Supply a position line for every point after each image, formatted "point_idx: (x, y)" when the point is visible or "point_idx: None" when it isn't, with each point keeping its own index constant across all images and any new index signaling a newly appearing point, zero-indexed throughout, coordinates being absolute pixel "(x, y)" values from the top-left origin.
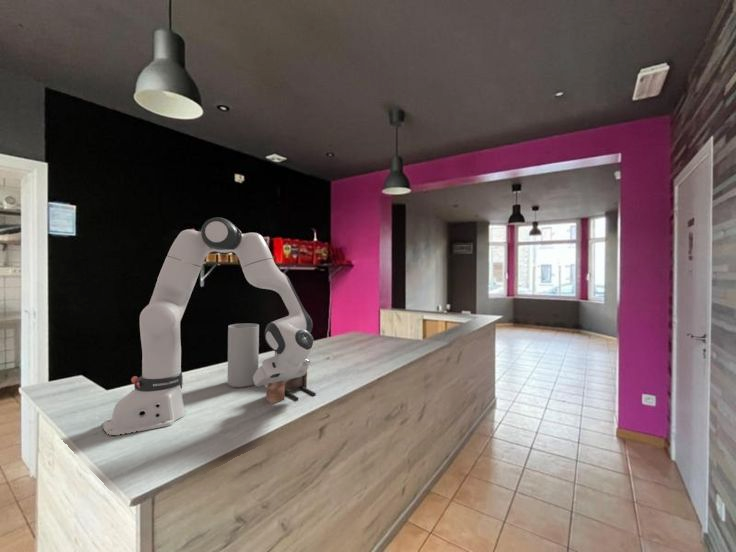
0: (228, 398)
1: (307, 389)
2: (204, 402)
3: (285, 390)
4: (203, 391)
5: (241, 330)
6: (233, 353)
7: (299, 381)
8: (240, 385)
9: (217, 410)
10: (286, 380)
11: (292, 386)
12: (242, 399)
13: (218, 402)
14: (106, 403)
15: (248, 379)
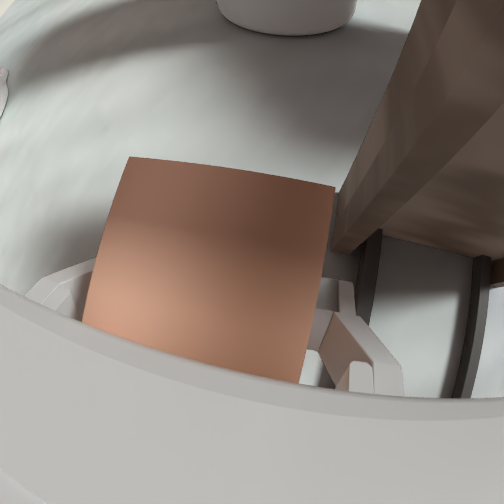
0: (113, 99)
1: (476, 349)
2: (54, 92)
3: (379, 249)
4: (133, 9)
5: None
6: None
7: (500, 248)
8: (236, 21)
9: (14, 194)
10: (329, 370)
11: (445, 240)
12: (132, 147)
13: (67, 117)
14: (18, 20)
15: (271, 8)
